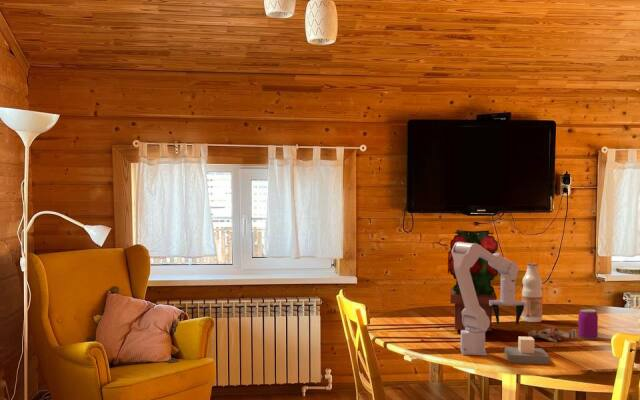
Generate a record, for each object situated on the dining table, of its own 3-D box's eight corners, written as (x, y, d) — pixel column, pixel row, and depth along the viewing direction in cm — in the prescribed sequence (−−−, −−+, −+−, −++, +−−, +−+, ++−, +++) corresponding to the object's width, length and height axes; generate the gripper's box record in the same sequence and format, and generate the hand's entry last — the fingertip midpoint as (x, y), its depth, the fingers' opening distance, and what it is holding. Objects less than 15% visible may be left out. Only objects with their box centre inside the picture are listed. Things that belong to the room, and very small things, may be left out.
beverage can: (586, 340, 271) (586, 312, 271) (574, 336, 279) (574, 308, 279) (601, 339, 274) (601, 311, 273) (589, 335, 281) (589, 308, 281)
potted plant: (499, 337, 276) (500, 233, 275) (447, 335, 281) (448, 232, 280) (496, 326, 298) (497, 230, 297) (447, 324, 302) (448, 229, 301)
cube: (520, 352, 240) (520, 339, 240) (518, 349, 245) (518, 336, 245) (534, 353, 239) (534, 340, 239) (531, 349, 244) (531, 336, 244)
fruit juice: (518, 320, 311) (518, 263, 311) (527, 317, 318) (528, 261, 317) (536, 323, 304) (536, 264, 304) (545, 320, 311) (546, 263, 310)
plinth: (509, 363, 237) (509, 355, 237) (504, 354, 249) (504, 346, 248) (549, 364, 235) (549, 356, 235) (542, 355, 247) (542, 348, 247)
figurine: (571, 330, 262) (524, 327, 276) (572, 344, 262) (526, 341, 276) (576, 327, 267) (531, 325, 280) (578, 341, 267) (532, 338, 280)
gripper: (524, 289, 264) (523, 321, 264) (488, 288, 265) (487, 320, 266) (527, 291, 257) (527, 325, 257) (490, 291, 258) (490, 324, 259)
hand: (507, 323), depth 261 cm, fingers open, 7 cm apart
